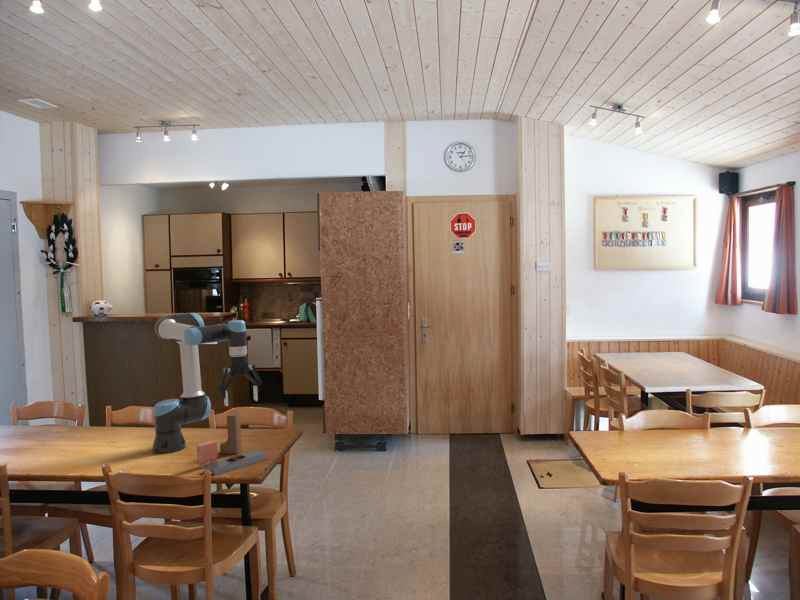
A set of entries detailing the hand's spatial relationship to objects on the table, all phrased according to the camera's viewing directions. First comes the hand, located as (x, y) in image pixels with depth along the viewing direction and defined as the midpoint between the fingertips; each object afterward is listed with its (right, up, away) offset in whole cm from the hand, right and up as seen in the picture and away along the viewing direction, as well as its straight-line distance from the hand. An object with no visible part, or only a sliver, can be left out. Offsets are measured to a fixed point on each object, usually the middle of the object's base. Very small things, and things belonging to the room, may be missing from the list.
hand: (241, 403), depth 273 cm
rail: (-1, -27, -4) cm, 27 cm away
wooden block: (-9, -26, +16) cm, 32 cm away
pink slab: (-14, -27, -3) cm, 31 cm away
